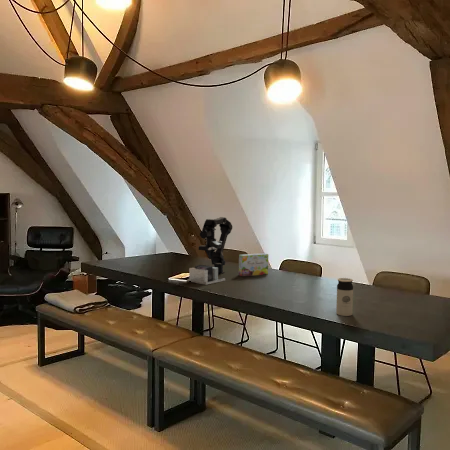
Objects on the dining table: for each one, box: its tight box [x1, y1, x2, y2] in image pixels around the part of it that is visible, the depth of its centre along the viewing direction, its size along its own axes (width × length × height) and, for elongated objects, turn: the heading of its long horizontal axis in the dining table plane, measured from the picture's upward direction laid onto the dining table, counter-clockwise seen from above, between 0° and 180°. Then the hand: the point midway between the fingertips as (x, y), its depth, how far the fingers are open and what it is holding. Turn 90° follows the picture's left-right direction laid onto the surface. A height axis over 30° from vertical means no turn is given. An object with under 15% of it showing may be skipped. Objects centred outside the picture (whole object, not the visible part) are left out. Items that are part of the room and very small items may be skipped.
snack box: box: [238, 252, 269, 277], centre depth 357 cm, size 21×6×15 cm, turn 114°
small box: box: [194, 264, 214, 282], centre depth 333 cm, size 11×6×10 cm, turn 53°
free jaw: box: [212, 266, 219, 281], centre depth 337 cm, size 3×13×9 cm, turn 49°
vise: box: [187, 267, 226, 285], centre depth 335 cm, size 19×17×9 cm
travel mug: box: [336, 277, 354, 317], centre depth 253 cm, size 8×8×18 cm
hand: (210, 259), depth 352 cm, fingers closed
